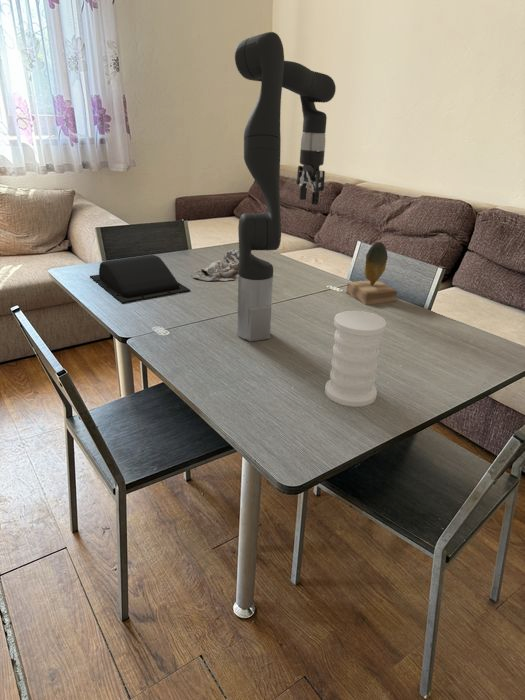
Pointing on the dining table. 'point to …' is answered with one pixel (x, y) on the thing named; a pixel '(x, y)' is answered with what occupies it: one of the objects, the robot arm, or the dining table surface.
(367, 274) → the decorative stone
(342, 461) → the dining table surface
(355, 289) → the plinth
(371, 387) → the decorative container
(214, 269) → the wall ornament
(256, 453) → the dining table surface
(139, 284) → the black rounded block
